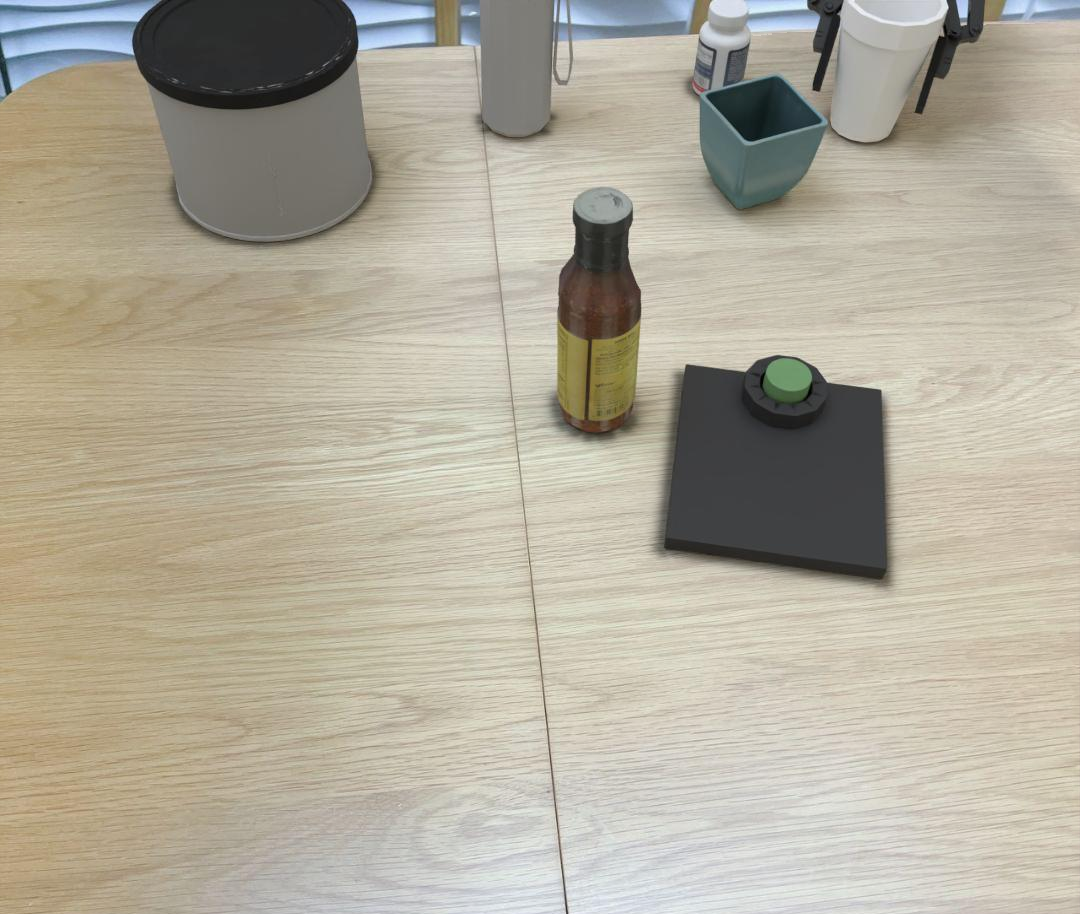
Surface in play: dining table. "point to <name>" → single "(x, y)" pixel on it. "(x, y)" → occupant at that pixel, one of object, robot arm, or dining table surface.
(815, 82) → the robot arm
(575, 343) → the sauce bottle
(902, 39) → the foam cup
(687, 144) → the dining table surface
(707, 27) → the pill bottle
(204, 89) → the container
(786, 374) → the tare button
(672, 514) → the scale
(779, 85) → the flower pot
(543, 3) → the water bottle
